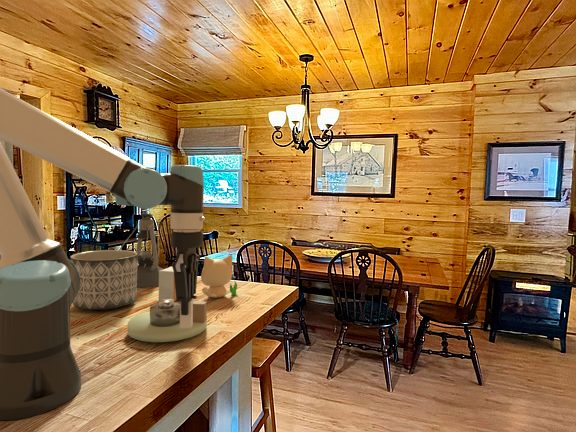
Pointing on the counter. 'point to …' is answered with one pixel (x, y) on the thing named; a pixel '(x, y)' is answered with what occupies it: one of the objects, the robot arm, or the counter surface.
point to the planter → (106, 279)
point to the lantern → (147, 254)
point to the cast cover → (165, 313)
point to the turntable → (146, 332)
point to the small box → (167, 284)
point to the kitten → (217, 276)
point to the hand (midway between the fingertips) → (186, 326)
